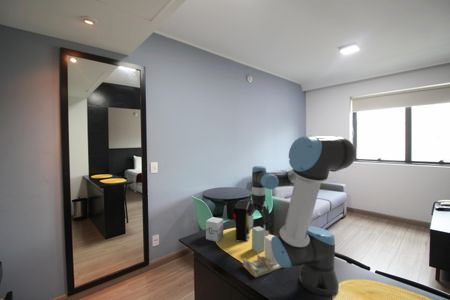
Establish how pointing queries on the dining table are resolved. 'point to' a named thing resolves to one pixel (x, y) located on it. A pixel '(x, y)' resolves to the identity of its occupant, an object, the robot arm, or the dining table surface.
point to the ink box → (214, 229)
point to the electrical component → (241, 221)
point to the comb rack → (260, 266)
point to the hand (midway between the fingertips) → (258, 231)
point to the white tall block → (269, 250)
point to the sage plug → (258, 239)
